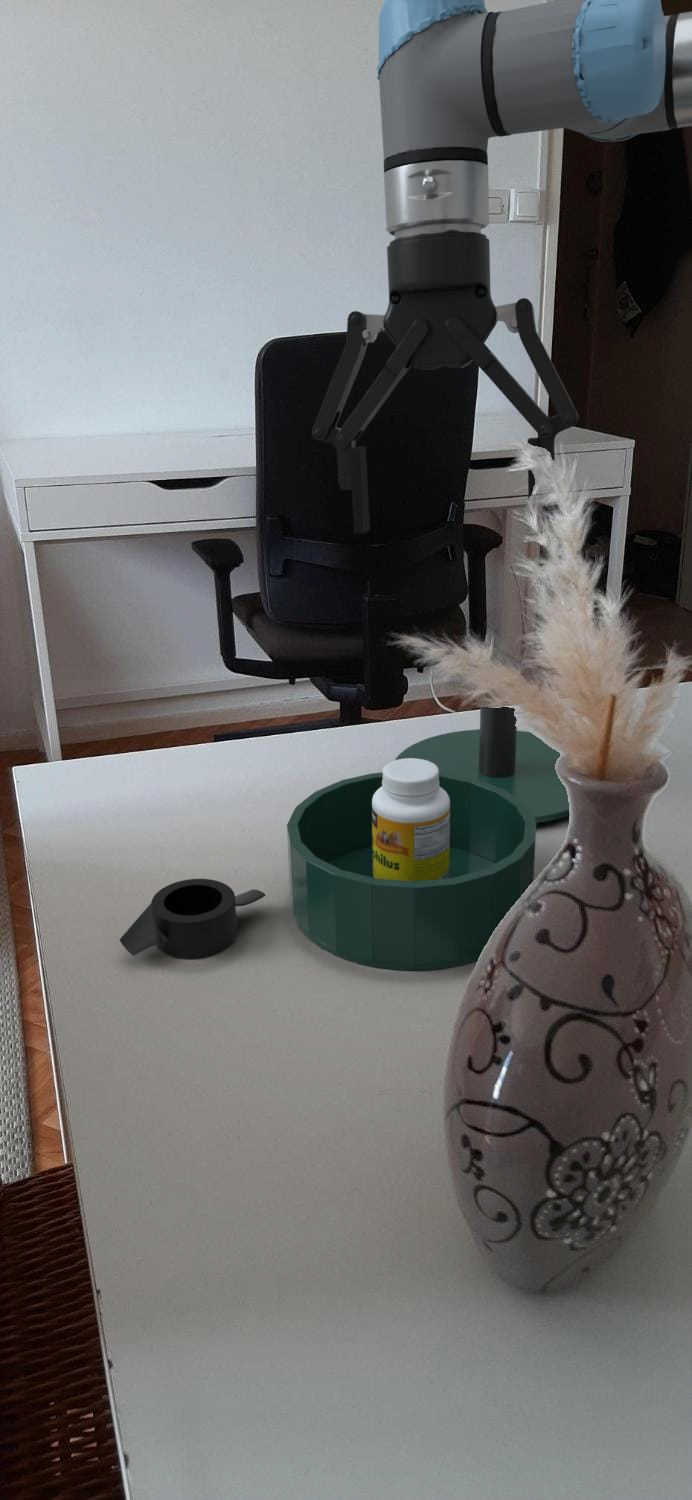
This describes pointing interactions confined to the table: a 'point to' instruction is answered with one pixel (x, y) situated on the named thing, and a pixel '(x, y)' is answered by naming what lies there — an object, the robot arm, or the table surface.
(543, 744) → the lid
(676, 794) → the table surface
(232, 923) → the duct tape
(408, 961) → the tin
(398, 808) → the supplement bottle
